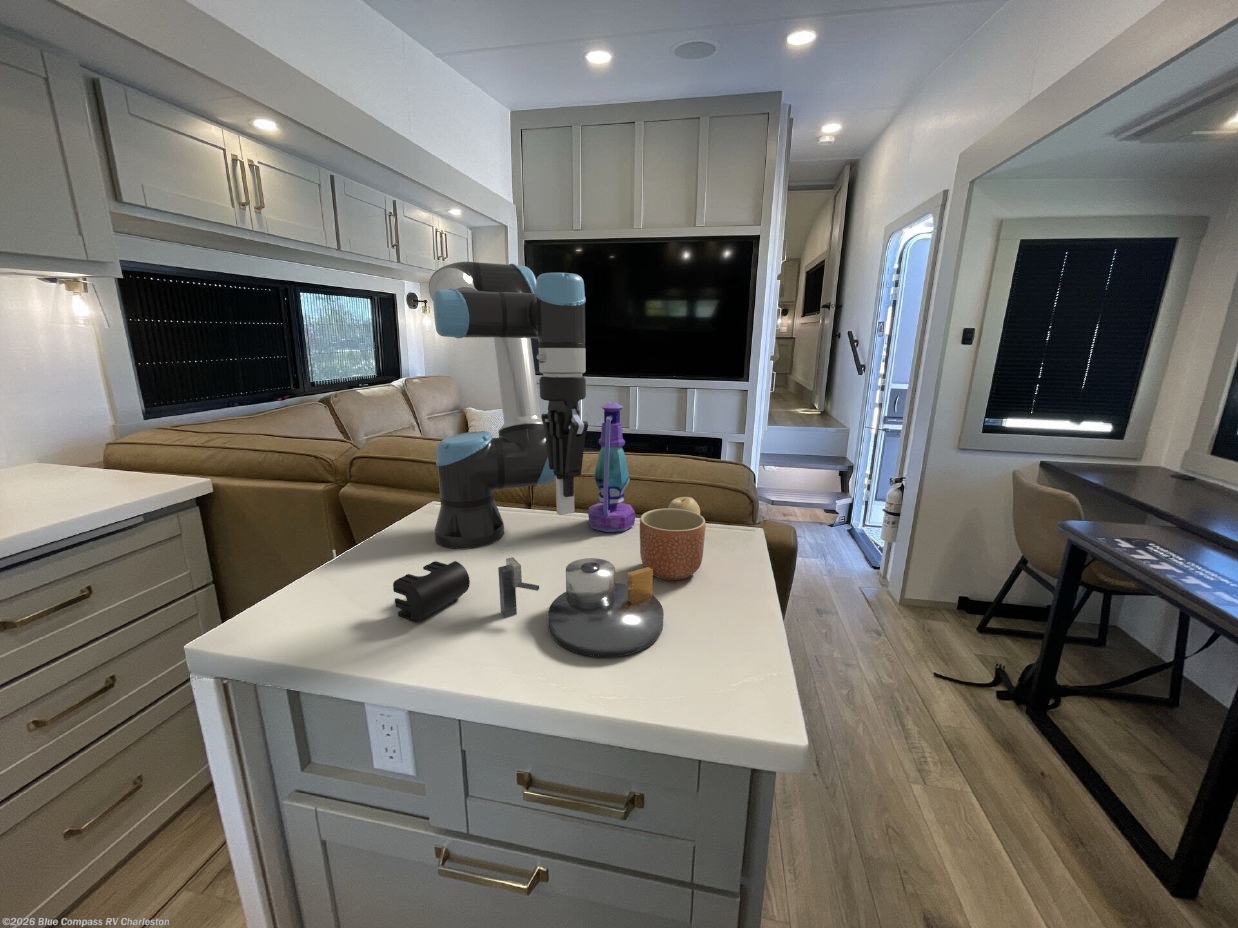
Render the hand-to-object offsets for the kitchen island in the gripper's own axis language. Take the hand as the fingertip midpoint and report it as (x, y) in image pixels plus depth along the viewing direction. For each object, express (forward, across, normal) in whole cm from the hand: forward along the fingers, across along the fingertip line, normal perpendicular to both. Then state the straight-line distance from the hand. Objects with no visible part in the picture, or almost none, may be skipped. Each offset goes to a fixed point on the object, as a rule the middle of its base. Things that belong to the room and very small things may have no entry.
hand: (565, 512), depth 85 cm
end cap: (+15, -6, -22) cm, 27 cm away
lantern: (+14, -22, +23) cm, 35 cm away
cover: (+12, +8, 0) cm, 15 cm away
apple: (+14, -14, +38) cm, 43 cm away
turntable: (+15, +14, 0) cm, 20 cm away
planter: (+15, +4, +20) cm, 25 cm away
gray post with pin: (+14, +4, -11) cm, 18 cm away
